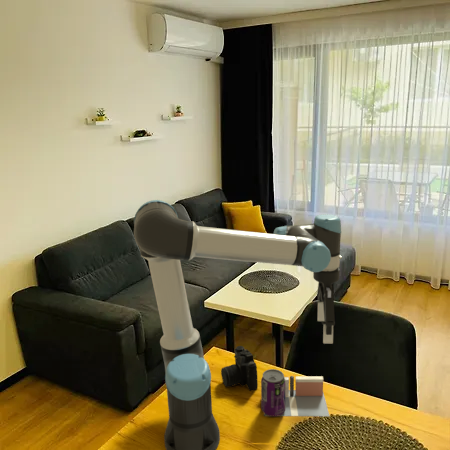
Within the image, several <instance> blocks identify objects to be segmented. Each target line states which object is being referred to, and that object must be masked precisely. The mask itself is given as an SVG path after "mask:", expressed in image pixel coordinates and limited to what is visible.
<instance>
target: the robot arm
mask: <svg viewBox="0 0 450 450" xmlns="http://www.w3.org/2000/svg"><path fill="white" fill-rule="evenodd" d="M341 223H342V222H341V218H340V217H339V216H337V215H335V214H328V213H327V214H319V215H316V216H315V217H314V219H313V223H308V224H296V225H295V224H293V225H284V226H283V225H282V226H279V227H275V229H274V231H273V233H267V232H259V231H258V232H257V231H247V230H239V229H230V228H229V229H228V228H219V227H218V228H217V227H211V226H210V227H209V226H200V225H197V224H196V222H195V221H191V220H185V219H181V218H179V216H178V213H177V211H176V209H175V208H174V206H172V205H171V204H169V202H167V201H164V200H160V199H153V200H149V201H147V202H144V203H143V204H142V205H141V206H140V207H139V208H138V210H137V211H136V212H135V215H134V218H133V224H134V228H133V236H134V239H135V240H134V242H135V243H136V245H137V246H138V247H139V253H140V256H141V258H142V259H145V260H147V261H148V267H149V272H150V277H151V281H152V287H153V290H154V295H155V301H156V304H157V309H158V314H159V320H160V323H161V329H162V333H163V335H162V336H161V338H160V340H159V344H160V349H161V354H162V358H163V362H164V372H165V375H164V380H165V381H164V382H165V386H166V393H167V395H166V396H167V406H168V407H167V409H168V416H169V417H168V421H167V424H166V428H165V431H164V438H163V439H164V447H165V450H217V449H218V446H219V444H220V441H221V440H220V438H221V435H220V429H219V425H218V423H217V420H216V419H215V415H214V414H213V405H212V404H213V403H212V402H213V401H212V389H211V388H212V386H211V384H212V373H211V369H210V366H209V363H208V362H207V361H206V359H205V356H204V351H203V347H202V346H203V345H202V341H201V336H200V332H199V331H198V330H197V328H194V326H193V321H192V317H191V311H190V304H189V301H188V295H187V290H186V286H185V278H184V274H183V270H182V265H181V264H182V263H181V261H188V262H189V261H191V260H193V259H194V258H203V259H204V258H205V259H216V260H226V261H235V262H236V261H237V262H238V261H239V262H248V263H249V262H250V263H251V262H252V263H260V264H261V263H263V264H271V265H284V266H286V265H287V266H296V267H303V268H304V269H306V270H308V271H309V272H311V273H313V274H312V275H313V277H312V278H313V279H314V281H316V282H318V283H317V285H318V286H317V291H316V292H317V293H316V296H317V322H321V325H323V326H322V327H323V328H322V330H323V331H322V332H323V334H322V343H323V344H332V345H333V344H334V326H335V325H336V321H335V320H336V319H335V299H334V298H335V297H334V295H335V288H334V286H333V284H334V283H337V282H339V280H340V263H341V262H340V260H342V256H341V236H342V224H341Z"/></svg>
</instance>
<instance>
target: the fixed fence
mask: <svg viewBox="0 0 450 450" xmlns="http://www.w3.org/2000/svg"><path fill="white" fill-rule="evenodd" d="M284 378H285V396H289V390H290V396H294V390H295V389H294V388H295V387H294V386H295V377H294V376H293V375H290V376H284Z"/></svg>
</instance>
